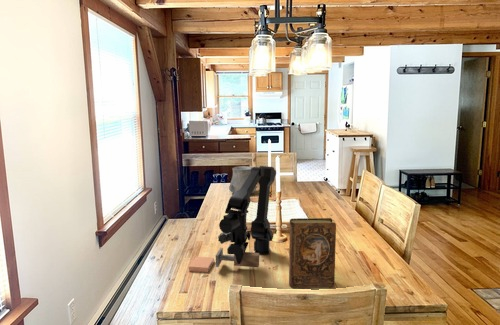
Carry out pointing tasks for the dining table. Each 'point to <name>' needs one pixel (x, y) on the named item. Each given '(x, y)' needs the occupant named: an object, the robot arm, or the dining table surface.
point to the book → (312, 253)
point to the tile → (201, 264)
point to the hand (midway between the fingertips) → (239, 262)
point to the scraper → (247, 260)
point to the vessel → (239, 178)
